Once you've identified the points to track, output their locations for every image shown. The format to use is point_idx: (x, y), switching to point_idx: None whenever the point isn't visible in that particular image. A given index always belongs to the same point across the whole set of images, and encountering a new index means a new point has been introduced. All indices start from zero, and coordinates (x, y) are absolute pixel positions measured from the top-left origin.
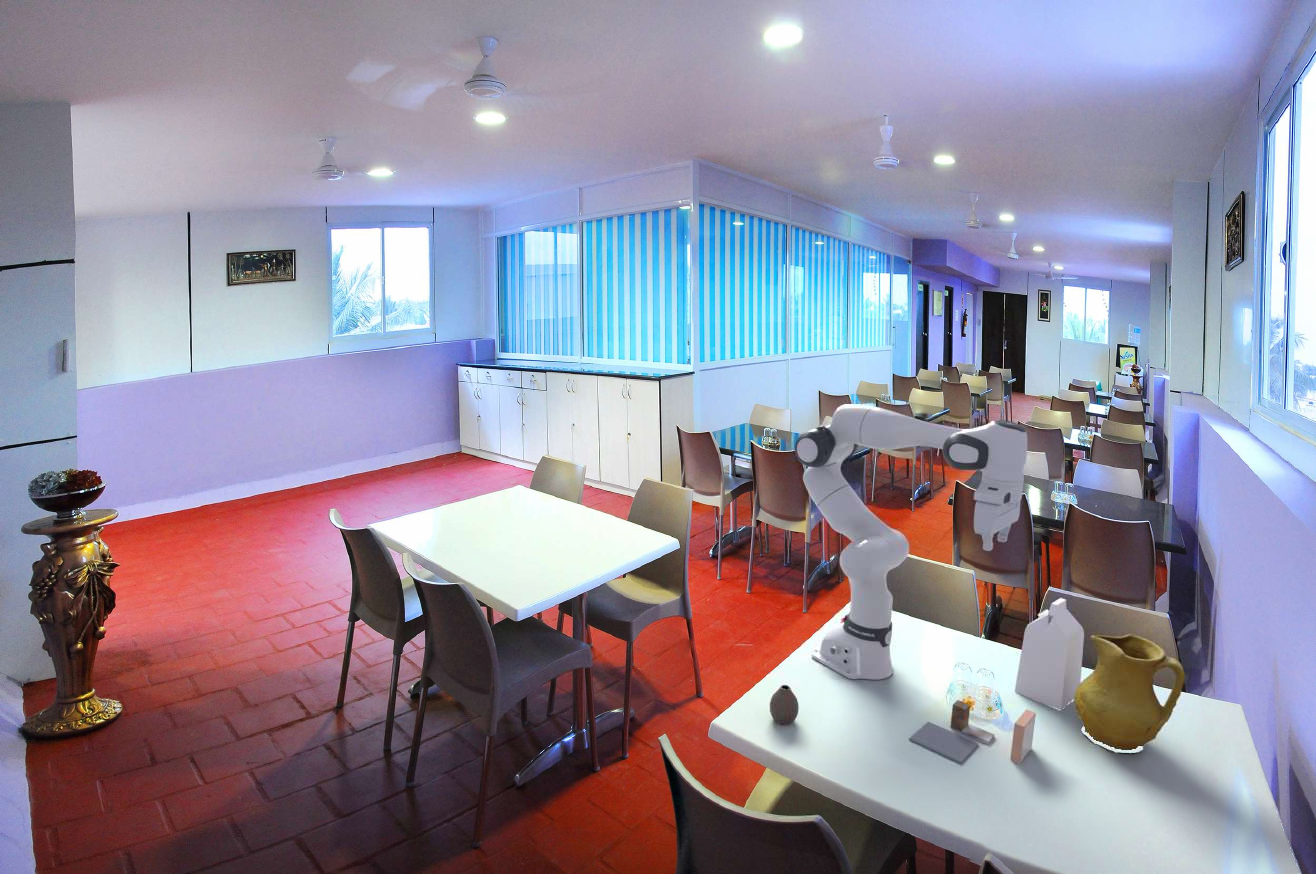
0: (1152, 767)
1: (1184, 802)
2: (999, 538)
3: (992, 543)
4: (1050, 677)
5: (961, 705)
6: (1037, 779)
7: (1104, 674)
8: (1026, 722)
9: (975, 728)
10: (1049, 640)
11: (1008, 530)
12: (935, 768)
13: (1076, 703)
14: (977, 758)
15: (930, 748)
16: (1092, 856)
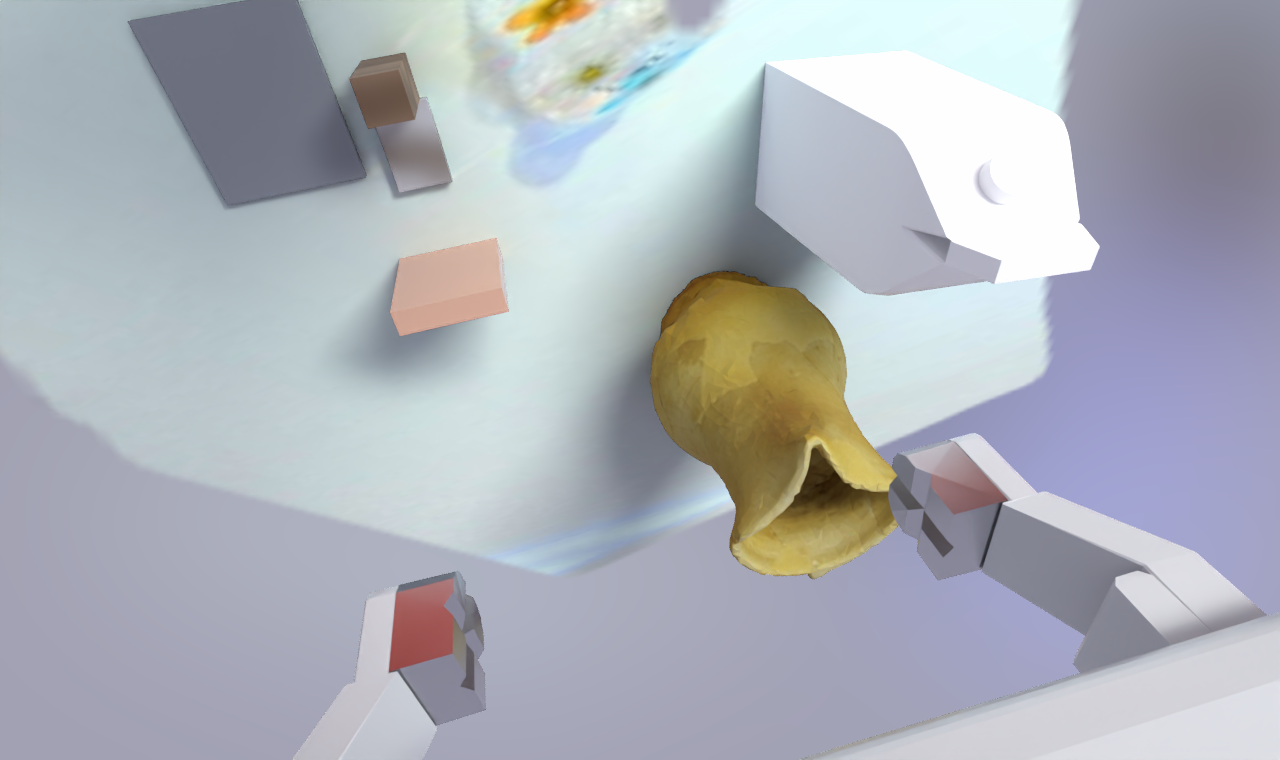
0: None
1: (600, 478)
2: (920, 487)
3: (453, 718)
4: (798, 196)
5: (378, 102)
6: (391, 333)
7: (727, 435)
8: (429, 326)
9: (423, 128)
10: (868, 226)
11: (1056, 614)
12: (122, 174)
13: (690, 316)
14: (307, 211)
15: (174, 105)
16: (277, 490)
